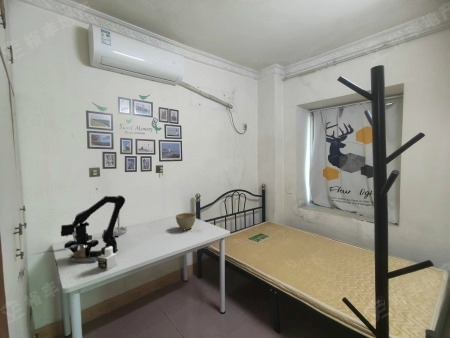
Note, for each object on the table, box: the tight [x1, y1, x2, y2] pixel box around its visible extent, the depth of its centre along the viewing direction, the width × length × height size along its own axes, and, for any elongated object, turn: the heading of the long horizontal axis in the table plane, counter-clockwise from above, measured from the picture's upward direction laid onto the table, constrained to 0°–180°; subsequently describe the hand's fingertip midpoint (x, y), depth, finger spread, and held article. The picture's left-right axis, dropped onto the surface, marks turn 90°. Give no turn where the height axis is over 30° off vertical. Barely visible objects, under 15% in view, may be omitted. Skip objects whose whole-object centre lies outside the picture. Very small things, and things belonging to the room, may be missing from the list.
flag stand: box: [113, 214, 128, 237], centre depth 186 cm, size 13×13×30 cm
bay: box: [67, 245, 101, 264], centre depth 145 cm, size 20×17×6 cm
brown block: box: [73, 248, 90, 258], centre depth 142 cm, size 6×6×5 cm
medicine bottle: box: [97, 245, 118, 271], centre depth 130 cm, size 7×7×12 cm
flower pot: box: [175, 212, 197, 230], centre depth 200 cm, size 18×18×12 cm
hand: (82, 256), depth 142 cm, fingers closed on brown block, 6 cm apart
